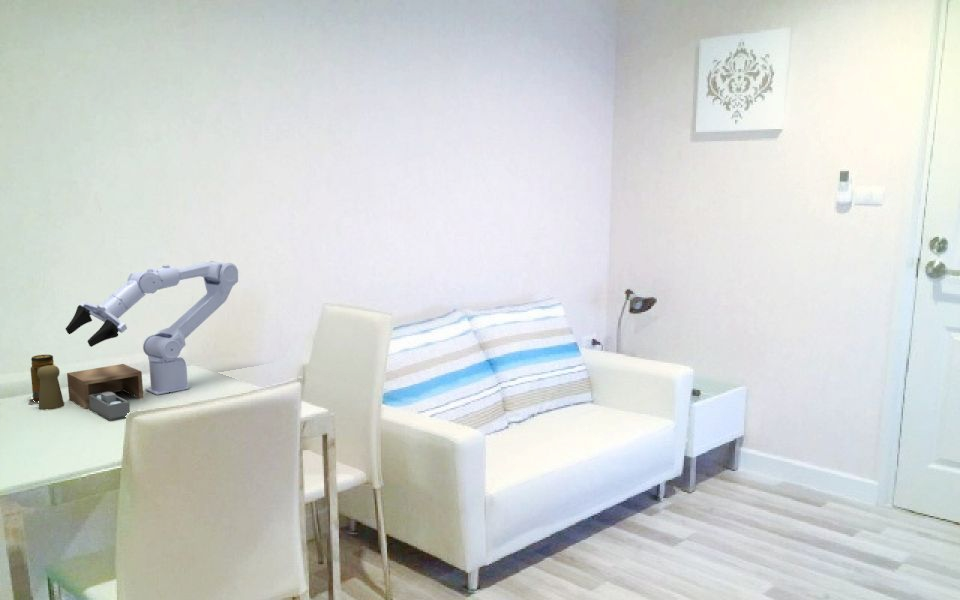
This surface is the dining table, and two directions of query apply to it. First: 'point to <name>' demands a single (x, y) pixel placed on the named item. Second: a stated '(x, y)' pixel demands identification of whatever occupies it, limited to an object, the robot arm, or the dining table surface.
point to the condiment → (36, 364)
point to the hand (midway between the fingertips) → (78, 337)
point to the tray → (109, 405)
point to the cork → (49, 388)
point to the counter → (103, 382)
